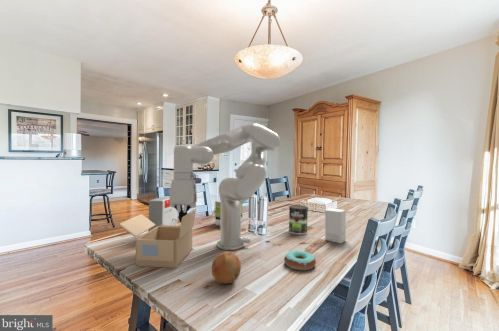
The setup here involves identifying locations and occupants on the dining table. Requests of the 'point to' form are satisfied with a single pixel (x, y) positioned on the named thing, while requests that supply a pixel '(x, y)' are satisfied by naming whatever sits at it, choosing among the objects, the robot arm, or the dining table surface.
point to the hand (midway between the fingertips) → (182, 221)
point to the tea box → (218, 212)
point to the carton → (163, 247)
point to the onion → (226, 267)
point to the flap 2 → (187, 223)
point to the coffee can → (298, 219)
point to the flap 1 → (137, 225)
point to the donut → (300, 260)
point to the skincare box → (335, 225)
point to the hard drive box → (162, 212)
